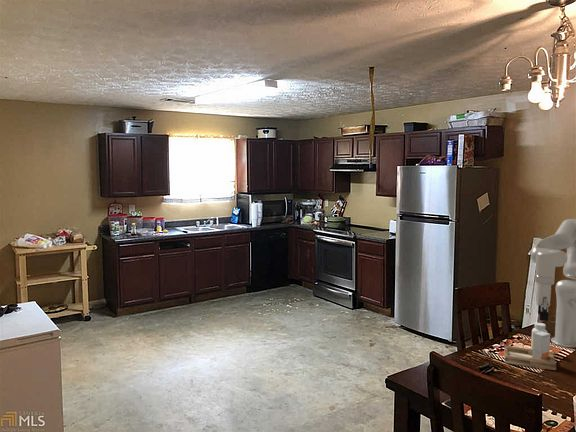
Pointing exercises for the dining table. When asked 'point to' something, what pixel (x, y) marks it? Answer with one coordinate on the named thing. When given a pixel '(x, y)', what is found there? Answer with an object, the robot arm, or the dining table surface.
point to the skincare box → (541, 345)
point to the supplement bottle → (537, 330)
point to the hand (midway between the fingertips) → (542, 317)
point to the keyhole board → (527, 358)
